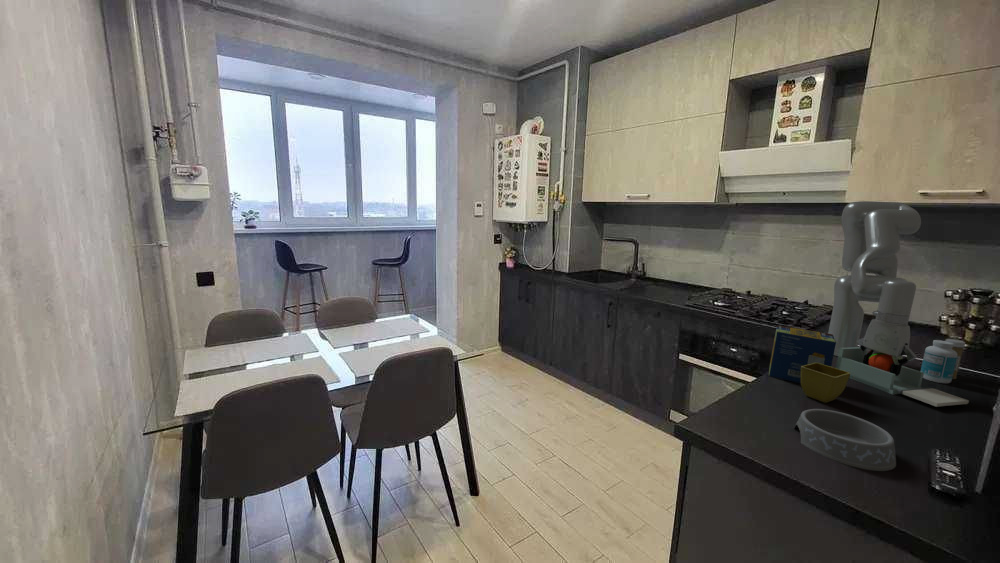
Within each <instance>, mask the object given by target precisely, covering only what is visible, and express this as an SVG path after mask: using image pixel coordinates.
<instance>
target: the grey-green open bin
mask: <svg viewBox="0 0 1000 563" xmlns="http://www.w3.org/2000/svg"><path fill="white" fill-rule="evenodd" d="M863 360H864V354H863V351H862V350H861V348H860V346H857V347H848V348H840V349H839V354H838V356H837V360H836V366H835V368H837V369H840V370H843V371H846V372H849V373H850V376H849V379H851V380H852V381H853V380H854V381H856V382H859V383H860V384H864V385H867V386H868V387H872V388H874V389H877V390H880V391H882V392H885V393H887V394H890V395H903V394H902V393H899V392H898V390H906V389H919V388H923V387H922V383H923V379H924V378H923V375H924V373H923V372H920V371H921V370H920V371H919V370H917V369H913V368H910V367H907V366H905V365H902V367H901V371H900V374H899V375H898V376H895V375H896V374H893V373H890V372H887V371H884V370H881V369H878V368H875V367H872V366H869V365H866V364H863Z"/></svg>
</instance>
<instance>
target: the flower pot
mask: <svg viewBox="0 0 1000 563" xmlns="http://www.w3.org/2000/svg"><path fill="white" fill-rule="evenodd" d="M849 376H850V373H849V372H846V371H843V370H840V369H837V368H836V367H833V366H831V367H830V366H827V365H823V364H820V363H812V364H808V365H804V366H801V383H800V386H801V388H802V391H803V393H804V394H805V396H807V397H808V398H812V399H814V400H816V401H819V402H822V403H827V404H828V403H829V402H832V401H834V400H836V399H837V398H838V397H840V395H841V394H842V393H843V392H844V390H845V389H846V386H847V383H848V381H849V379H850V378H849Z"/></svg>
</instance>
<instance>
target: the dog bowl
mask: <svg viewBox="0 0 1000 563" xmlns="http://www.w3.org/2000/svg"><path fill="white" fill-rule="evenodd" d="M796 428H798V430H799V433H800V444H802V445H803V446H804V447H807V448H808V449H810V450H812V451H813V452H815V453H817V454H819V455H821V456H823V457H825V458H827V459H831V460H833V461H834V462H838V463H840V464H843V465H847V466H850V467H853V468H858V469H862V470H867V471H875V472H876V471H877V472H886V471H892V470H893V469H895V468H896V467H897V457H896V456H897V455H896V448H895V439H894V438H893V436H892V435H891V434H890V433H889V432H888V431H887V430H885V429H884V428H882V427H880V426H878V425H876V424H874V423H873V422H870V421H868V420H865V419H863V418H860V417H857V416H854V415H852V414H849V413H845V412H840V411H836V410H830V409H823V408H812V409H811V408H810V409H806V410H803V411H802V412H801V413H800V416H799V418H798V420H797V422H796V423H795V426H794V428H793V429H796Z"/></svg>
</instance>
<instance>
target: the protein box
mask: <svg viewBox="0 0 1000 563" xmlns="http://www.w3.org/2000/svg"><path fill="white" fill-rule="evenodd" d="M835 346H836V341H835V339H834V336H833V335H832V334H828V332H820V331H814V330H807V329H802V328H795V327H789V326H783V325H779V324H777V325H776V329H775V335H774V340H773V346H772V350H771V355H770V362H769V370H768V377H772V378H775V379H776V378H777V379H780V380H784V381H789V382H793V383H798V384H801V366H804V365H808V364H812V363H820V364H823V365H827V366H830V367H832V365H833V360H834V356H835V355H834V351H835Z"/></svg>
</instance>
